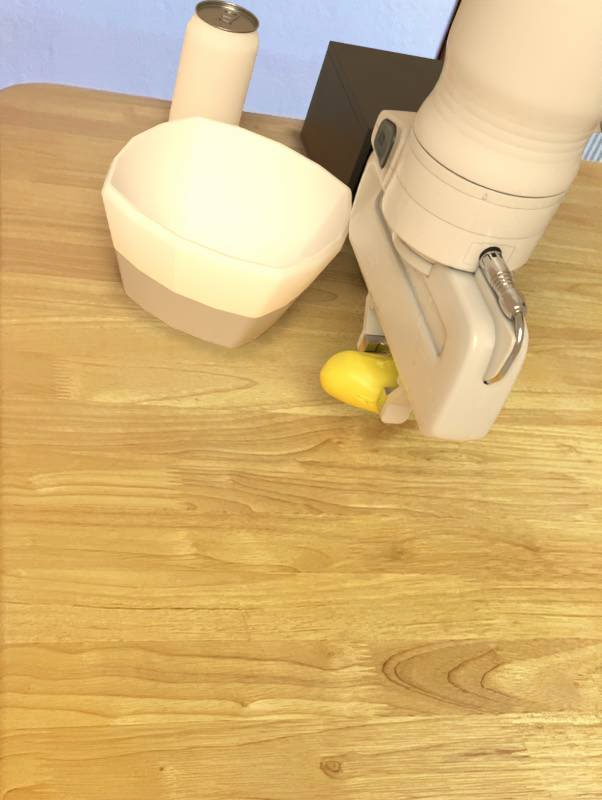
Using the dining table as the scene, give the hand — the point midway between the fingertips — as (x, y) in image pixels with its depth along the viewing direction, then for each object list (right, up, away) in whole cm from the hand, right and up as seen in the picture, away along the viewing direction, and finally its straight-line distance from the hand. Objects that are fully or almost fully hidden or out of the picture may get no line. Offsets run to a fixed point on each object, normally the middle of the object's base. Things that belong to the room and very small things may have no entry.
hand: (378, 385), depth 59 cm
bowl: (-11, +9, +12) cm, 19 cm away
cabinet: (+6, +24, +28) cm, 37 cm away
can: (-12, +27, +25) cm, 39 cm away
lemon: (0, -1, +1) cm, 2 cm away
